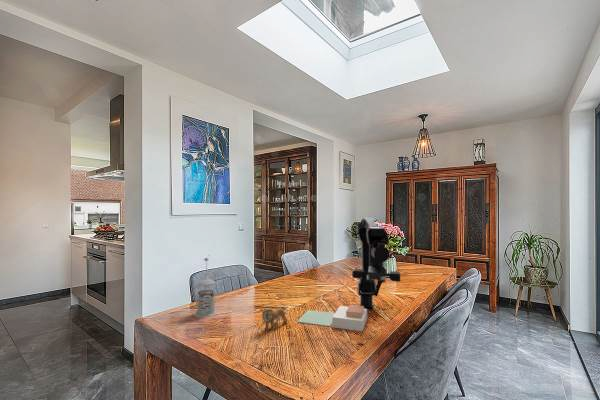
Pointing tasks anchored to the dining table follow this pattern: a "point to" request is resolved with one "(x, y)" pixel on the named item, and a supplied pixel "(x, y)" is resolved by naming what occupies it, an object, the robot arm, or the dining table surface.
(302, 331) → the dining table surface
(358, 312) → the tile
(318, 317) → the mat
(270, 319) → the lion figurine
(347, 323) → the board
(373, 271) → the robot arm
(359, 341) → the dining table surface
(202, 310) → the french press
